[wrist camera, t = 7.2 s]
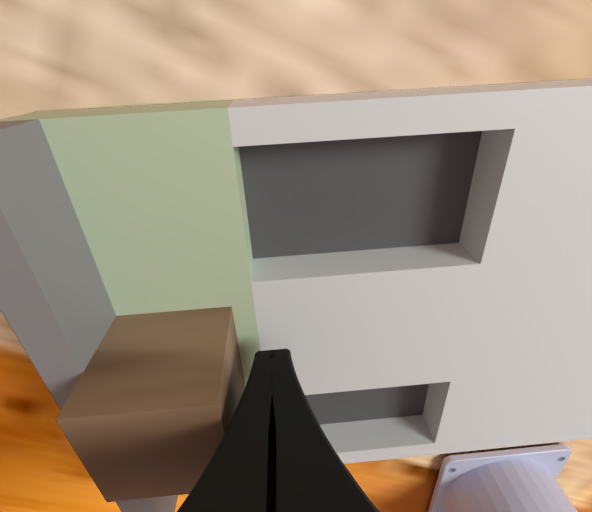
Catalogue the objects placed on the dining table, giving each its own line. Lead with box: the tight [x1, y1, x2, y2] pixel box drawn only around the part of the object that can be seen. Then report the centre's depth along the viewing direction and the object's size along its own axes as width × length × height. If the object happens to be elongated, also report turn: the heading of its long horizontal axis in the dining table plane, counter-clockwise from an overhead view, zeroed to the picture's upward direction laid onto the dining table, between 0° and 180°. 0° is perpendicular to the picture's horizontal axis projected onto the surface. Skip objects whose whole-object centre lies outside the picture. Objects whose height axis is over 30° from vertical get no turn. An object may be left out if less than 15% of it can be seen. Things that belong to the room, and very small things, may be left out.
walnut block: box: [55, 306, 245, 502], centre depth 11 cm, size 4×4×4 cm
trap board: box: [0, 78, 592, 512], centre depth 13 cm, size 17×26×4 cm, turn 93°
